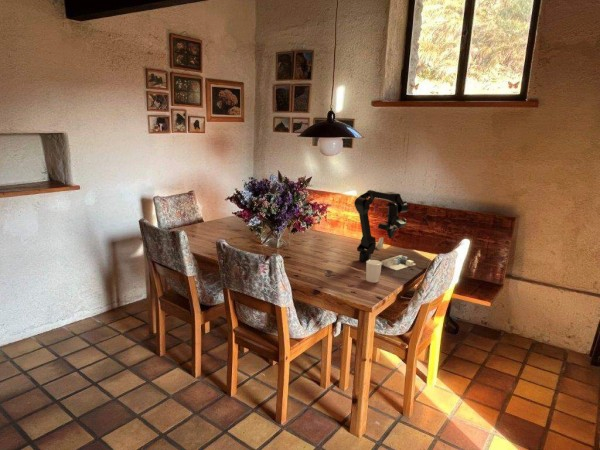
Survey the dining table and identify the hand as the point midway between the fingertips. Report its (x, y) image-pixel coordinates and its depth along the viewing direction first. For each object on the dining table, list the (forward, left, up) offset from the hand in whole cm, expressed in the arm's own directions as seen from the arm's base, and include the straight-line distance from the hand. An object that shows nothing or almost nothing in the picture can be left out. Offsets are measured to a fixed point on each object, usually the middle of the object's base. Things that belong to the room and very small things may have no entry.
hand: (390, 238), depth 258 cm
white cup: (-38, -20, -12) cm, 45 cm away
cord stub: (-4, -15, -11) cm, 19 cm away
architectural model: (+10, +16, -13) cm, 23 cm away
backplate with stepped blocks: (-8, -14, -12) cm, 20 cm away
